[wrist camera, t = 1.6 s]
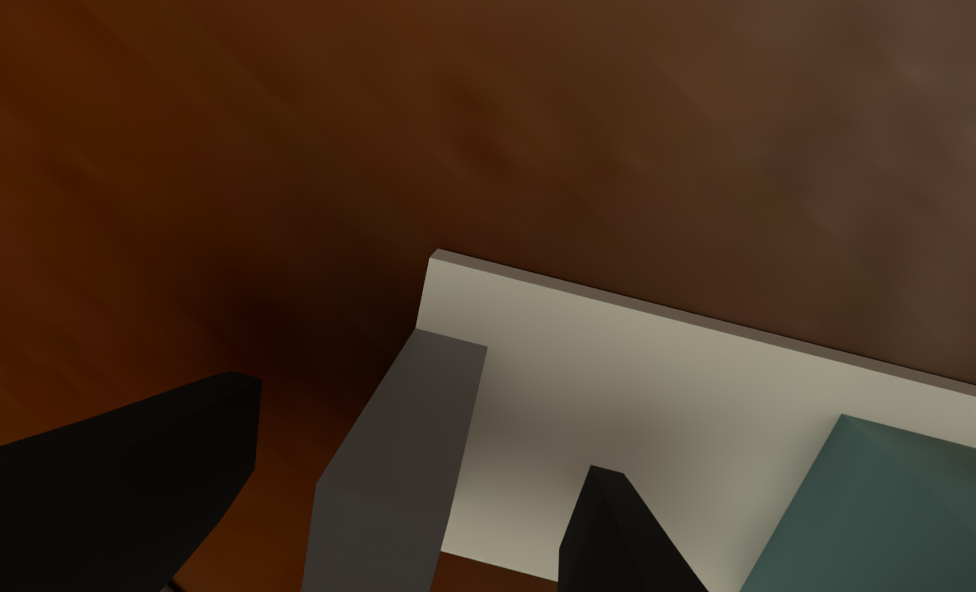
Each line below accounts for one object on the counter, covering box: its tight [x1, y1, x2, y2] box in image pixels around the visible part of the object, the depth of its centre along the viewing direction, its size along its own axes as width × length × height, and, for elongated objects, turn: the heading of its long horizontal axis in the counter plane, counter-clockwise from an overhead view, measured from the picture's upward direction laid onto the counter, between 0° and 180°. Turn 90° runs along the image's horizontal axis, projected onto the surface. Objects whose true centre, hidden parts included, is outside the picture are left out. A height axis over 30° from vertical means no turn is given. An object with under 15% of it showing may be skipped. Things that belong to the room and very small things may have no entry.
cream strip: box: [301, 249, 976, 592], centre depth 8 cm, size 14×7×5 cm, turn 77°
